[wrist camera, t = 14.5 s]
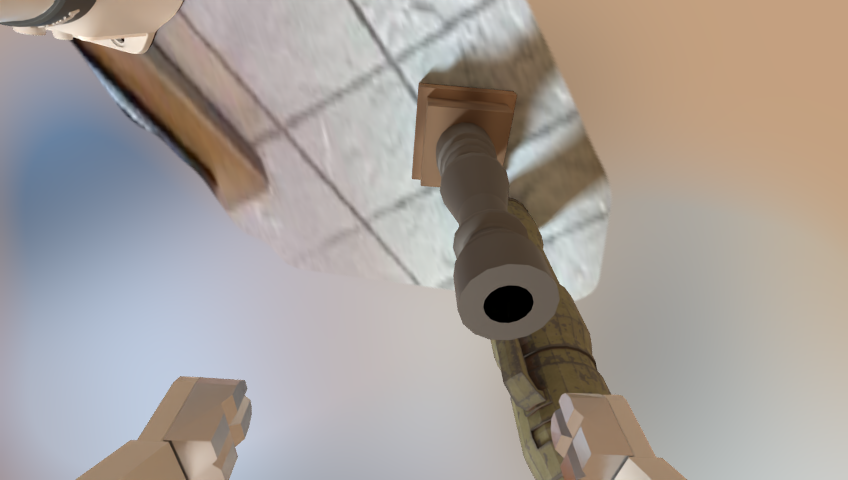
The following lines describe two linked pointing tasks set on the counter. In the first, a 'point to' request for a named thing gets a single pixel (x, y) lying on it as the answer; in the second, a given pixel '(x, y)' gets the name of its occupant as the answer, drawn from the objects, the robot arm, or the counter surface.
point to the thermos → (546, 370)
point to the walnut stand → (453, 107)
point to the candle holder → (491, 242)
